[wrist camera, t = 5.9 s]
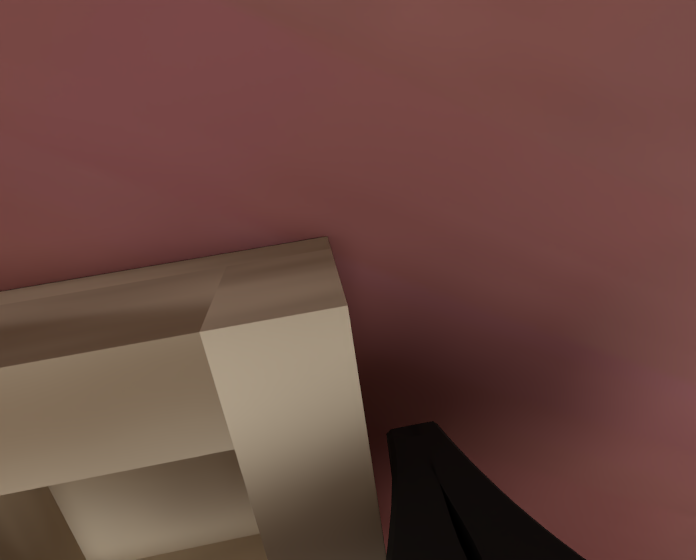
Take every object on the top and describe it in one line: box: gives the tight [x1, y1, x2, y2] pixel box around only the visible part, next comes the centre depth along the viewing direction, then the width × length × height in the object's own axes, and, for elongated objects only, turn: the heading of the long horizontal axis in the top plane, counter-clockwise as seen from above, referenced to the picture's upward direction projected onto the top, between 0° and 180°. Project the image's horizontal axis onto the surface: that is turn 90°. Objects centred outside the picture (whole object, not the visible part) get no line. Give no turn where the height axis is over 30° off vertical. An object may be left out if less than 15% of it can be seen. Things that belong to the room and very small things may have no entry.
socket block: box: [0, 237, 386, 560], centre depth 10 cm, size 10×10×4 cm
